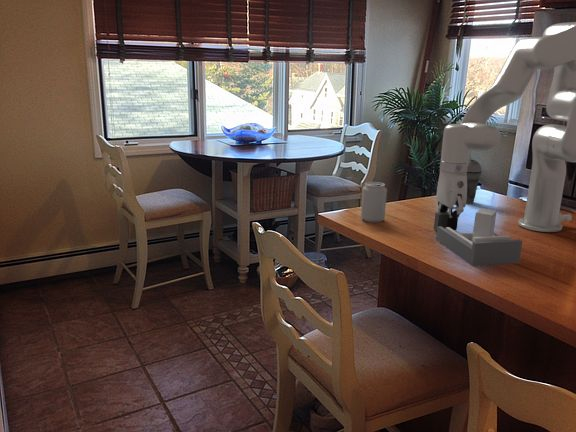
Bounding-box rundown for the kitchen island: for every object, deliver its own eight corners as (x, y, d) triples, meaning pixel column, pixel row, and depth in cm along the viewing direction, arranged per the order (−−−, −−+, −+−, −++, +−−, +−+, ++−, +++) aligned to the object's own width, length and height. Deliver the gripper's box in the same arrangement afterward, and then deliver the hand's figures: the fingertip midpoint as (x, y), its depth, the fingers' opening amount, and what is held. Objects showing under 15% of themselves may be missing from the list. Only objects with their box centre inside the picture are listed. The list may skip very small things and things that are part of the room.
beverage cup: (480, 205, 189) (487, 149, 183) (459, 204, 189) (466, 149, 183) (473, 199, 196) (480, 146, 190) (454, 199, 196) (460, 145, 190)
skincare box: (486, 259, 138) (492, 215, 134) (469, 256, 140) (475, 212, 136) (491, 252, 143) (497, 210, 139) (475, 249, 145) (480, 207, 141)
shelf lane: (477, 237, 154) (480, 217, 153) (519, 263, 136) (522, 240, 134) (435, 239, 152) (438, 219, 150) (472, 265, 133) (475, 243, 131)
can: (384, 224, 165) (386, 186, 162) (360, 222, 166) (362, 185, 163) (384, 217, 172) (387, 181, 169) (361, 215, 174) (363, 180, 170)
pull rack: (457, 227, 162) (460, 208, 160) (507, 258, 138) (510, 236, 136) (427, 229, 160) (429, 210, 158) (472, 260, 136) (475, 238, 134)
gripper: (481, 173, 146) (473, 235, 151) (451, 161, 162) (444, 218, 167) (456, 174, 145) (448, 237, 150) (428, 162, 161) (422, 219, 166)
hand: (446, 226), depth 159 cm, fingers closed on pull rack, 4 cm apart
